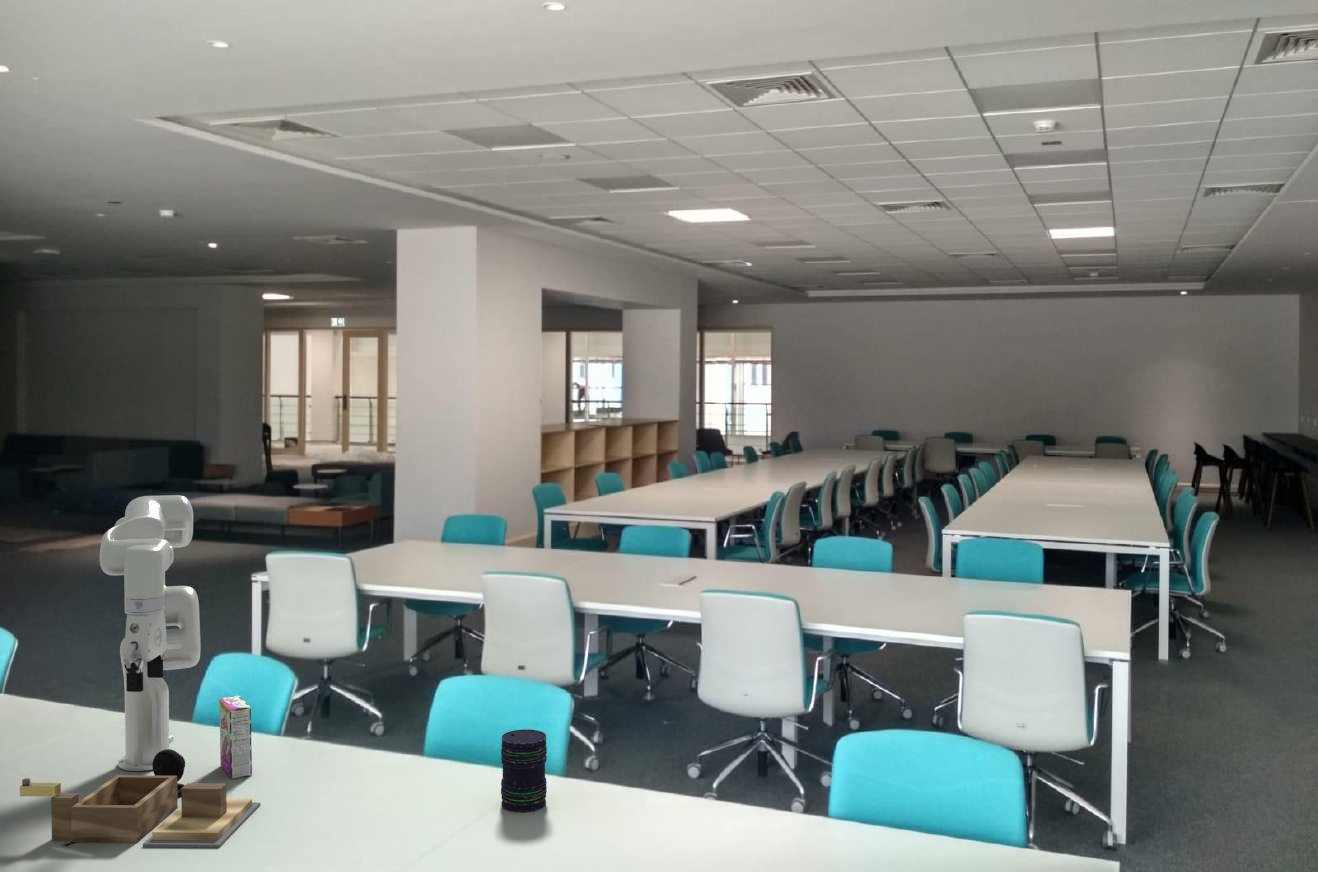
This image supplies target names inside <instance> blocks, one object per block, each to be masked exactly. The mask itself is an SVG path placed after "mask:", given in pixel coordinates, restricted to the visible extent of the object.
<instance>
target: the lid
mask: <svg viewBox="0 0 1318 872" xmlns="http://www.w3.org/2000/svg"><path fill="white" fill-rule="evenodd" d="M184 785H185V786H184V787H183V788H181V796H180V798H181V800H180V801H181V804H180V805H181V807H179V809H176V810H175V811H174V812H173V813H172V815H171V816H170V815H169V816H168V817H167V819H165V821H164V822H163V821H162V822H161V823H160V824H159V825H158V826H157V828H154V829H153V830H152V831H151V836H152V840H219V839H220V838H221V837H222V836H223V835H224V834H225V833H226V832H227V831H228V830H229V829H230V828H231V827H232V826H233V825H234V824H235V823H236V822H237V821H238V820H239V819H240V818H241V817H242V816H243V815H244V814H245V813H246V812H247V811H248V810H249V809H250V808H251V807H252V802H253V799H252V798H227V783H205V782H203V783H202V782H201V783H199V782H198V783H196V782H195V783H194V782H191V783H190V782H189V783H188V782H187V783H186V784H184Z"/></svg>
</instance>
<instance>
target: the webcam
mask: <svg viewBox="0 0 1318 872" xmlns="http://www.w3.org/2000/svg"><path fill="white" fill-rule="evenodd" d="M152 767H153V770H152V772H153V776H177V797H178V798H181V788H183V787H184V786H185V785H186V784H182V783H180V782H179V781H180V780H181V779H182V777H183V775H184V773H185V767H186V760H185V758H184V756H183V755H182V754H180V753H179V752H177V751H176V750H174V749H170V748H169V749H165V750H162V751H160V752H158V753H157V754H156V756H155V757H154V760H153V765H152Z"/></svg>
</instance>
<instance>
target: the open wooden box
mask: <svg viewBox="0 0 1318 872" xmlns="http://www.w3.org/2000/svg"><path fill="white" fill-rule="evenodd" d="M177 783H178V782H177V776H155V775H148V774H147V775H138V774H137V775H135V774H134V775H131V774H130V775H129V774H128V775H127V774H126V775H125V774H116V775H115V776H113V777H112V778H110V779H109V780H108V781H106V782H104V783H103V784H102V785H99V787H97V788H96V789H95V790H93V791H92V792H90V793H89V794H87V795H86V796H84V797H83V798H81V800H79V792H77V793H76V792H75V793H69V792H68V793H67V792H65V793H63V792H61V793H60V794H58V795H57V796H55V797H50V799H51V806H50V807H51V810H50V811H51V813H50V815H51V841H55V842H56V841H58V842H59V841H61V842H62V841H71V843H121V844H122V843H125V844H127V843H128V844H130V843H134V844H135V843H139V842H140V841H142V840H143V838H145V837H146V836H147V835H148V834H149V833H151V832H153V831H154V830H155V829H156V827H158V826H160V825H161V824H162V823H163V821H164V820H167V819H168V818H169V817H170V815H171V814H173V813H175V812H176V811H177V810H178V808H179V806H178V801H179V800H178V798H179V797H177V791H178V790H177ZM166 818H167V819H166Z"/></svg>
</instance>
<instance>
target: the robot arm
mask: <svg viewBox="0 0 1318 872" xmlns="http://www.w3.org/2000/svg"><path fill="white" fill-rule="evenodd" d="M193 534H194V511H193V505H192V504H191V501H190V500H189V499H188V498H187V497H186V496H184V495H179V494H176V495H175V494H174V495H173V494H172V495H143V496H139V497H136V498H133V499H132V500H131V501H130V502H129V503H128V504H127V505H126V509H125V512H124V517H122V518H119V519H118V520H116V522H115V524H114V525H113V526H112V527H111V528H109V529H108V530H107V531H105V533H104V534H103V536H102V537H101V543H100V549H99V550H100V551H99V565H100V568H101V570H102V572H103V573H104V574H106V575H108V576H123V578H124V582H123V583H124V586H123V587H124V588H123V589H124V613H125V615H126V622H125V633H124V634H125V635H124V638H123V639H122V641H121V642H120V646H119V649H120V650H119V656H120V661H121V668H122V675H123V685H124V688H123V689H124V743H125V744H124V746H125V749H124V750H125V753H124V754H125V755H124V756H122V757H121V758H120V759H119V760H118V762H117V765H118V768H119V769H121V770H124V771H129V772H143V771H144V772H145V771H153V767H152V765H153V760H154V757H155V756H156V754H157V753H158V752H160V751H162V750H165V749H170V744H171V743H173V742H174V739H175V738H174V736H173V735H171V734H170V707H169V706H170V705H169V704H170V697H169V696H170V695H169V693H170V692H169V691H170V690H169V686H168V685H167V682H166V681H165V679H164V678H163V677H164V671H172V670H181V669H182V670H183V669H188V668H193V667H195V666H196V665H198V663H199V662H200V659H201V649H202V647H201V625H200V623H201V622H200V620H201V619H200V604H199V598H198V593H197V592H196V590H195V589H194V588H193V587H191V586H188V585H173V586H171V585H170V586H169V585H168V586H167V585H166V571H168V569H169V568H170V567H171V565H172V564H174V558H175V557H174V549H175V548H178V549H179V548H183V547H187V546H189V545H190V543H191V541H192V540H193ZM170 626H176V627H178V628H172V629H167V627H170Z"/></svg>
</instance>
